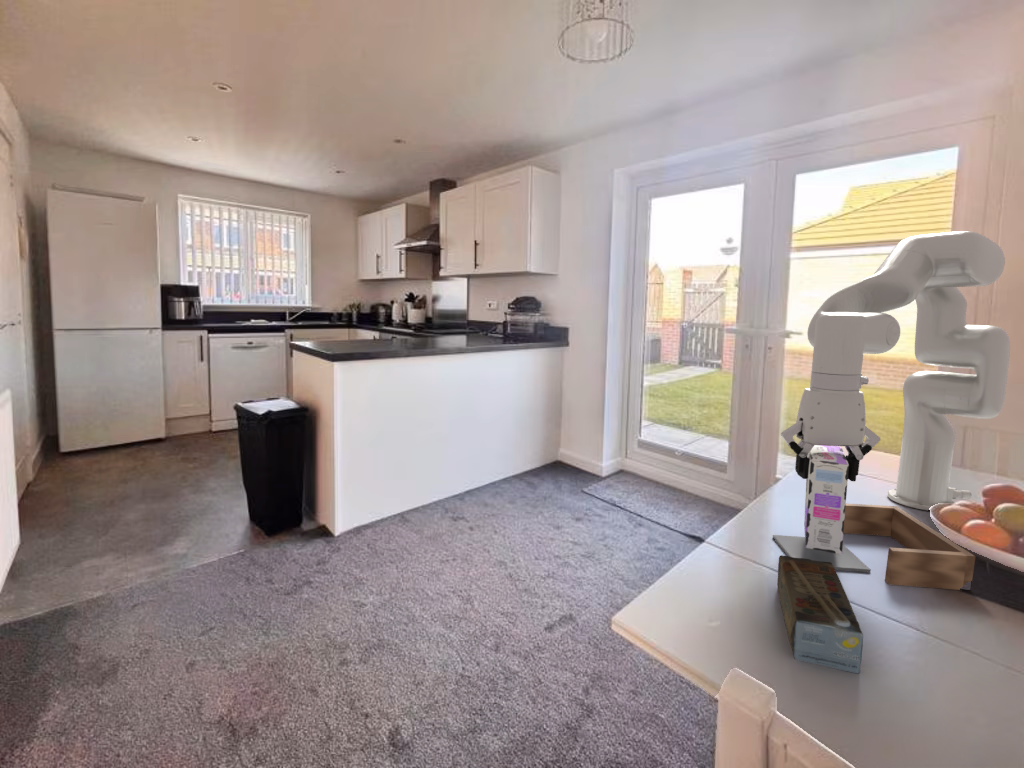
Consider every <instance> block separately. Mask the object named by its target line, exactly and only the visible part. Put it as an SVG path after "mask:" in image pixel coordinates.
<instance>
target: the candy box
mask: <svg viewBox="0 0 1024 768" xmlns="http://www.w3.org/2000/svg"><path fill="white" fill-rule="evenodd" d="M842 447H843V446H824V445H814V447H813V448H812V449H811V451H810V452H809V453H808V455H807V457H808V458H809V459H810V462H809V471H808V478H807V479H805V480H806V481H805V482H806V483H805V496H804V497H805V499H804V500H805V501H804V520H803V522H804V537H805V548H809V549H814V550H820V551H825V552H830V553H835V554H842V549H843V545H844V534H845V533H844V519H845V507H846V503H847V491H848V480H849V479H848V470H849V464H848V462H847V459H846V455H845V452H844V450H843V448H842Z"/></svg>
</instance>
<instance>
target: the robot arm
mask: <svg viewBox="0 0 1024 768" xmlns="http://www.w3.org/2000/svg"><path fill="white" fill-rule="evenodd" d="M1005 265H1006V258H1005V253H1004V251H1003V249H1002V247H1001V246H1000V245H999V244H998V243H996V242H995V241H994V240H991V238H989V237H987V236H985V235H984V234H982V233H979V232H975V231H970V230H960V231H950V232H940V233H928V234H919V235H914V236H909V237H907V238H905V239H902V240H901V241H900V242H898V243H897V244H896V245H895V247H893V248H892V250H891V251H890V252H889V254H888V255H887V256H886V258H885V259H884V260H883V262H882V263H881V264H880V266H879V267H878V268H877V270H875V272H874V274H873V275H871V276H868V277H866V278H863V279H862V280H859V281H857V282H855V283H853V284H851V285H849V286H846V287H845V288H842V289H840V290H839V291H837V292H835V293H833V294H831V295H830V297H828V298H827V299H826V300H825V301H824V302H823V303H822V304H821V306H819V308H818V309H817V310H816V312H815V314H814V315H813V316H812V317H811V320H810V322H809V325H808V328H807V340H808V342H809V344H810V345H811V346H812V348H813V351H812V352H813V353H812V362H811V363H812V365H811V372H810V373H811V374H810V382H809V383H810V385H809V387H805V388H804V390H803V393H802V396H801V399H800V403H799V407H798V412H797V418H796V422H795V423H794V424H792V425H790V426H789V427H788V428H786V429H784V430H782V432H780V437H781V438H782V439H783V440H784V442H785V443H786V444H787V446H788V447H789V448H790V449H791V450H792V451H793V452H794V453H795V454H796V455H795V467H794V469H795V472H796V474H797V475H798V476H799V477H801V479H802V480H806V479H807V478H808V471H809V462H810V459H809V458H808V453H809V452H810V451H811V449H812V448H813V447H814V445H824V446H837V447H845V449H846V452H847V455H845V457H846V459H847V462H848V464H849V470H848V480H849V481H850V482H856V480H857V476H858V475H859V471H860V462H861V461H862V460H863V459H864V457H865V456H866V455H867V454H868V453H870V452H871V451H872V449H873V448H874V447H875V446H876V445H877V444H878V443H879V442H880V441H881V436H879V435H877V434H876V433H875V432H873V431H872V430H871V429H870V428H869V427H867V426H866V403H865V397H864V392H863V391H861V389H862V386H864V385H868V384H869V378H868V377H867V376H863V374H862V372H863V371H862V370H863V369H862V368H863V362H864V361H863V360H864V354H865V355H866V354H867V355H876V354H877V355H879V354H884V353H887V352H888V351H890V350H892V349H893V348H894V347H895V346H896V345H897V344H898V341H899V340H900V336H901V326H900V323H899V322H898V320H897V319H896V318H895V317H894V316H892V315H891V314H888V313H886V312H889V311H893V310H896V309H897V310H898V309H900V308H902V307H906V306H908V305H910V304H911V303H912V302H915V303H916V323H915V333H914V334H915V335H914V356H915V359H916V360H917V362H918V363H921V364H923V365H927V366H933V367H934V366H935V367H946V368H955V369H956V368H957V369H970V370H972V371H974V372H975V374H971V373H970V374H969V373H958V372H949V371H940V370H939V371H936V370H921V371H916V372H913V373H911V374H910V375H908V376H907V377H906V379H905V380H904V382H903V386H902V397H903V407H904V417H903V419H904V421H903V429H902V438H901V449H900V456H899V465H898V470H897V471H898V473H897V480H896V488H892V489H889V490H888V491H887V497H888V498H889V499H890V500H891V501H893V502H895V503H898V504H900V505H902V506H905V507H909V508H912V509H917V510H922V511H928V510H929V508H930V507H931V506H933V505H935V504H938V503H955V502H954V501H953V500H956V499H965V500H966V499H967V500H970V499H971V498H972V496H973V495H972V492H971V490H964V489H960V490H958V489H957V488H956V487H951V486H950V479H951V471H952V465H953V464H952V463H953V458H954V457H953V456H954V451H955V443H956V431H955V428H954V426H953V425H952V423H951V422H950V421H949V419H948V417H947V416H946V415H948V416H949V415H950V416H951V415H952V416H957V417H958V416H959V417H966V418H972V419H973V418H974V419H983V420H984V419H985V420H989V419H994V418H996V417H998V416H999V414H1000V413H1001V412H1002V410H1003V407H1004V404H1005V399H1006V393H1007V392H1006V390H1007V381H1008V372H1009V364H1010V356H1011V341H1010V337H1009V334H1008V332H1007V331H1006V330H1005V329H1003V328H1002V327H1000V326H996V325H989V324H988V325H987V324H985V325H984V324H983V325H981V324H968V323H967V321H966V319H967V308H968V307H967V306H968V302H967V299H966V297H965V295H964V294H963V292H962V291H961V290H960V289H959V288H965V287H966V288H967V287H968V288H969V287H973V288H974V287H986V286H991V285H993V283H995V282H996V281H998V280H999V278H1000V277H1001V276H1002V275H1003V272H1004V269H1005ZM914 300H915V301H914ZM794 436H796V438H797V439H799V440H800V441H799V442H798V443H797V442H796V441H795V439H794ZM865 437H866V439H865Z"/></svg>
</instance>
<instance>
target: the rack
mask: <svg viewBox="0 0 1024 768" xmlns="http://www.w3.org/2000/svg"><path fill="white" fill-rule="evenodd" d="M843 534H849V535H852V534H853V535H864V536H865V535H867V536H881V537H891V538H892V539H894V540H895V541H896V542H897V543H899V544H900V545H901V546H902V547H904V548H901V547H888V549H887V550H888V551H887V560H886V566H885V575H884V581H885V583H887V584H888V585H890V586H906V587H917V588H931V589H943V590H957V591H961V590H960V588H962V587H963V586H964V585H965V584H966V583H968V582H971V581H972V582H973V578H974V577H973V576H974V570H975V564H976V563H975V562H976V556H975V555H974V554H973V553H971V552H969V551H968V550H966V549H965V548H963V547H962V546H960V545H958V544H957V543H956V542H954V541H953V540H950V539H949V538H947V537H946V536H944V535H943V534H941V533H939V532H938V531H936V530H935V529H933V528H932V527H930V526H928V525H927V524H925V523H924V522H922V521H921V520H919V519H917V518H916V517H914V516H913V515H911V514H909V513H908V512H906V511H904V510H903V509H902V508H900V507H898V506H895V505H883V504H882V505H878V504H863V503H847V502H846V507H845V519H844V533H843Z"/></svg>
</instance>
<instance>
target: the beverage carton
mask: <svg viewBox="0 0 1024 768" xmlns="http://www.w3.org/2000/svg"><path fill="white" fill-rule="evenodd" d="M777 568H778V569H777V592H778V597H779V601H780V606H781V610H782V615H783V619H784V623H785V629H786V631H787V635H788V640H789V642H790V643H789V644H790V646H791V648H792V655H793V659H794V660H796V661H801V662H804V663H810V664H815V665H817V666H818V665H819V666H822V667H826V668H827V667H828V668H832V669H836V670H840V671H845V672H849V673H854V674H860V673H861V664H862V654H863V647H864V645H863V643H864V634H863V632H862V629H861V627H860V623H859V622H858V619H857V616H856V613H855V611H854V610H853V608H852V605H851V603H850V600H849V598H848V595H847V593H846V591H845V589H844V586H843V584H842V582H841V579H840V578H839V576H838V573H837V570H835V569H834V567H833V565H832V563H831V562H820V561H813V560H810V559H804V558H793V557H789V556H787V555H782V554H781V555H779V557H778V566H777Z"/></svg>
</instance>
